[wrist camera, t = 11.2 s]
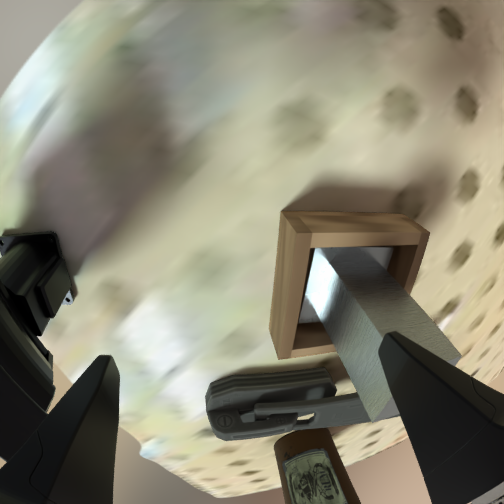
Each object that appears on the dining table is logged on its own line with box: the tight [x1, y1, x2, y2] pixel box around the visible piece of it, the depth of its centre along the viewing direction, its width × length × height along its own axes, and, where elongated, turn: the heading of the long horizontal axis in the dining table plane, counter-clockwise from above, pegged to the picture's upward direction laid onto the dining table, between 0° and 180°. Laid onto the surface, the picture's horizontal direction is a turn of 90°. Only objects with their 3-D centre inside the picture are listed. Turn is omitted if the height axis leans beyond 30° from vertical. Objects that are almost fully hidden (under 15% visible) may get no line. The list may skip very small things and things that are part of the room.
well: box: [269, 211, 430, 360], centre depth 22 cm, size 11×11×4 cm
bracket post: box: [298, 245, 462, 423], centre depth 18 cm, size 7×7×12 cm
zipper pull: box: [205, 367, 400, 441], centre depth 29 cm, size 9×7×25 cm
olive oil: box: [274, 428, 361, 504], centre depth 29 cm, size 11×11×25 cm
